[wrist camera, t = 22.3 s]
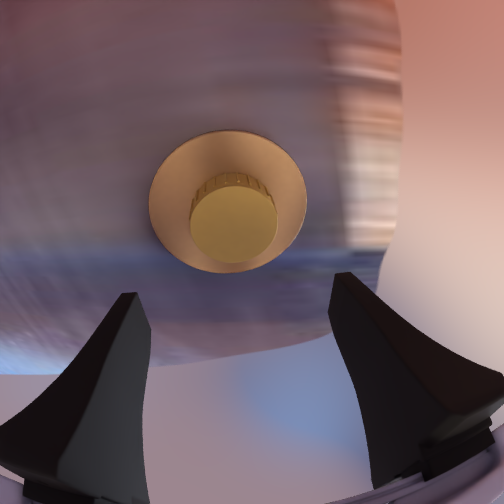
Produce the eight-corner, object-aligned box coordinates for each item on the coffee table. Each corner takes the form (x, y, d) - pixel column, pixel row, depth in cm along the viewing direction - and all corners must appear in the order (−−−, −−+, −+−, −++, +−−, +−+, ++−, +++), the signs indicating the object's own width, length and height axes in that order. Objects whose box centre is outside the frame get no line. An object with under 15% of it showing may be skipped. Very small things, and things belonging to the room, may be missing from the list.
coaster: (185, 284, 20) (184, 288, 20) (124, 163, 15) (122, 165, 15) (316, 246, 20) (317, 250, 19) (286, 109, 14) (288, 110, 14)
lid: (272, 242, 18) (277, 261, 17) (194, 247, 18) (193, 266, 17) (274, 169, 16) (281, 182, 14) (186, 174, 15) (183, 188, 14)
